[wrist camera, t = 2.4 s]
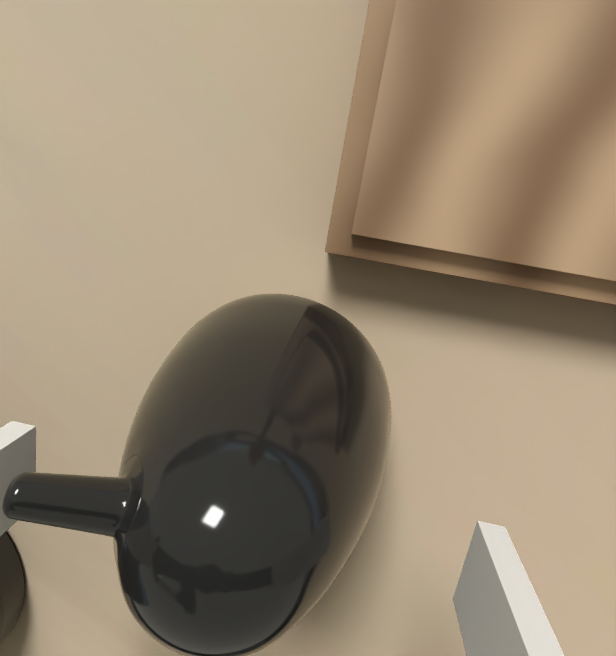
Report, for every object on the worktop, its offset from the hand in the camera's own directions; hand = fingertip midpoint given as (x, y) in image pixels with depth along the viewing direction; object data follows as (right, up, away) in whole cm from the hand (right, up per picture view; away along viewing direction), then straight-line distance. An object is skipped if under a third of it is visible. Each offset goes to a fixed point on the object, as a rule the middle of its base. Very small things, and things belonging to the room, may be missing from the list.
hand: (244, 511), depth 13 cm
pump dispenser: (+1, +3, +11) cm, 12 cm away
